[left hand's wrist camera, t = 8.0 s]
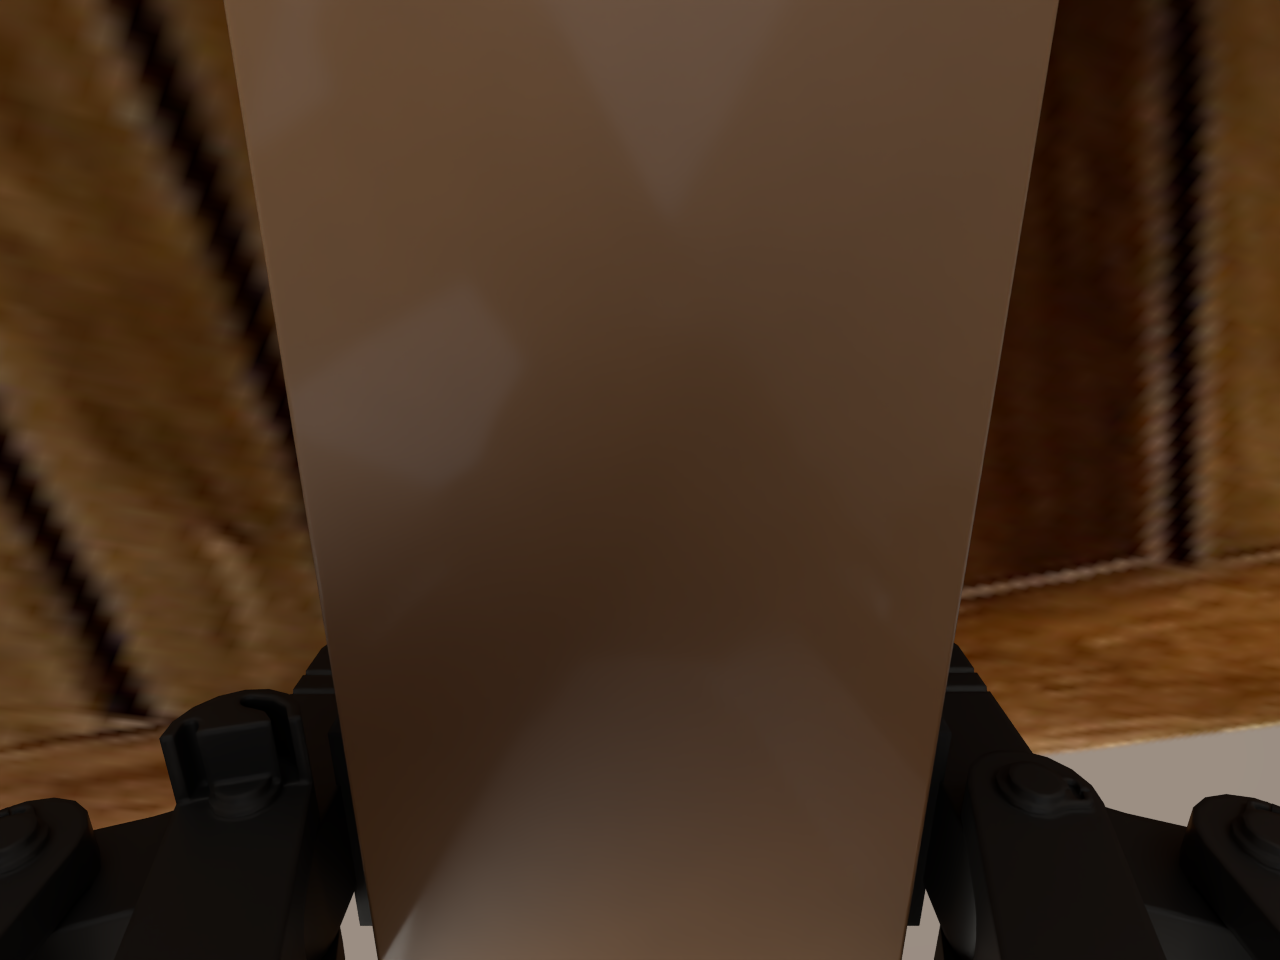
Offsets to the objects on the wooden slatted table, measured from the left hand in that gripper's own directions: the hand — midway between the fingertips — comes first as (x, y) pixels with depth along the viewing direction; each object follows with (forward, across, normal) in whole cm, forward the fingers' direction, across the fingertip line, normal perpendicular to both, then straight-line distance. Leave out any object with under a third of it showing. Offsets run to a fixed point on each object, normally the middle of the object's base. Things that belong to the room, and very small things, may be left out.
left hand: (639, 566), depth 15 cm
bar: (+1, 0, -13) cm, 13 cm away
